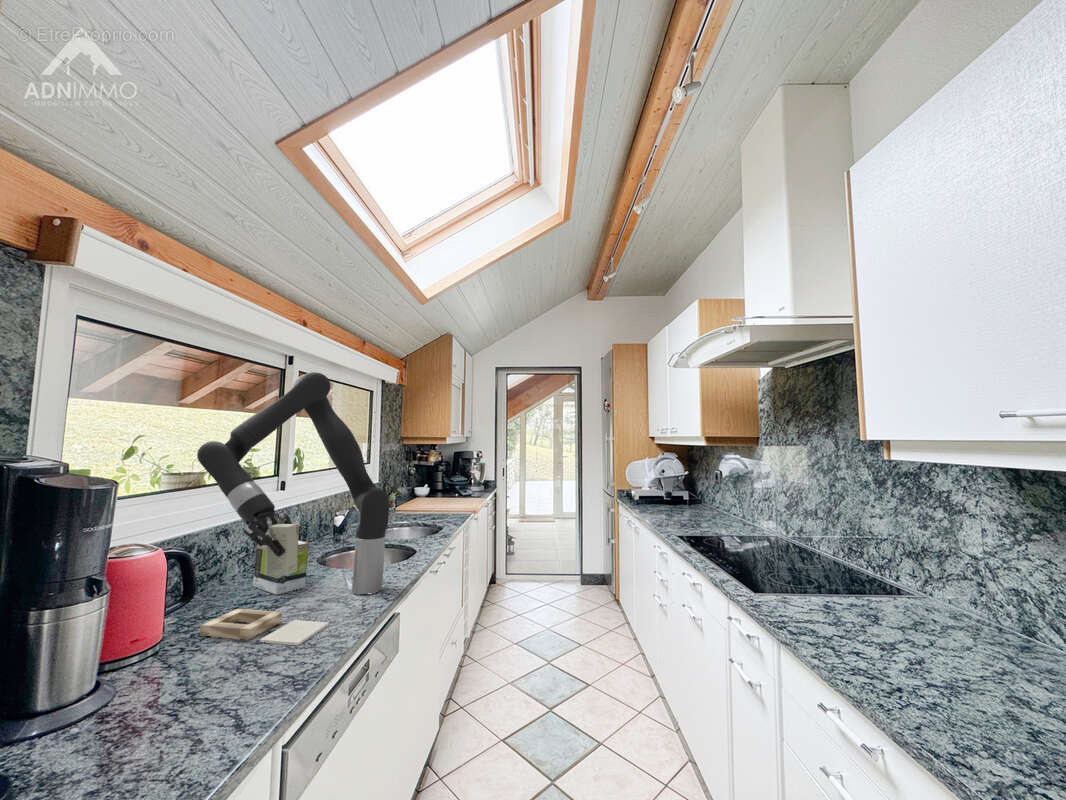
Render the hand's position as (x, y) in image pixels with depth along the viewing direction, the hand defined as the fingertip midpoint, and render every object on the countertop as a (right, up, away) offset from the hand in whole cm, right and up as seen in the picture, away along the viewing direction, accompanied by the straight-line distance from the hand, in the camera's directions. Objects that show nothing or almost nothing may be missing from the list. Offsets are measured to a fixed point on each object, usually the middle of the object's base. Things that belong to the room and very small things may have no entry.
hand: (288, 551), depth 110 cm
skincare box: (-2, -6, 0) cm, 6 cm away
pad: (+4, -19, -3) cm, 20 cm away
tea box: (-21, -23, +31) cm, 44 cm away
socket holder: (-11, -19, -1) cm, 22 cm away
